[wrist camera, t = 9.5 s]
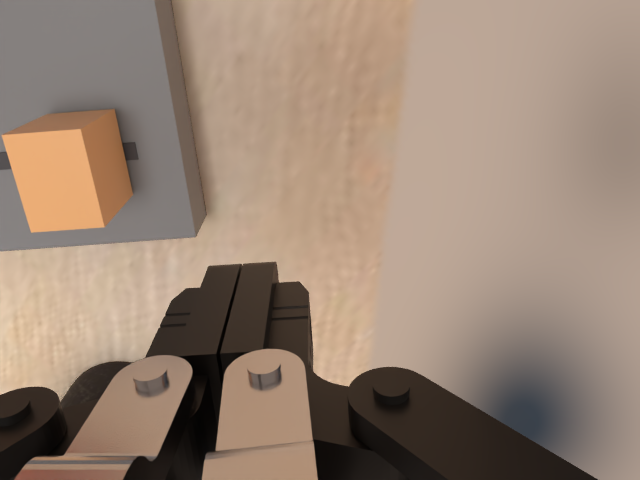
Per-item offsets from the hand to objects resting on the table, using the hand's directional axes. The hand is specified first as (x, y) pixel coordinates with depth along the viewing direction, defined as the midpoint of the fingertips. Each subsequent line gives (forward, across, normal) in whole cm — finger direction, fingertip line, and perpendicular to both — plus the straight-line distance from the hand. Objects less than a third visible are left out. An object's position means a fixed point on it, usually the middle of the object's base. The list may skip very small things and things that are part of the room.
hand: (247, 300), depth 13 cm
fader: (+14, +9, 0) cm, 16 cm away
